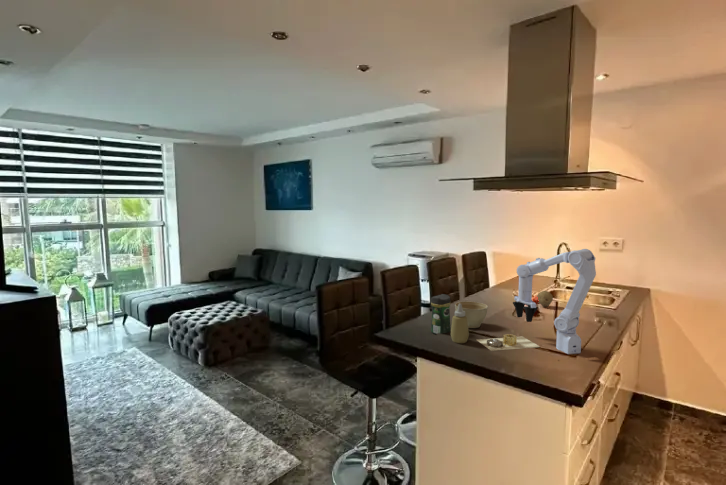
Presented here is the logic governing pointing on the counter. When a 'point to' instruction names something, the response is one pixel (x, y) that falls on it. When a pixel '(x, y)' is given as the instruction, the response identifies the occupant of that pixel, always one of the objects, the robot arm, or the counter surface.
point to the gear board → (520, 344)
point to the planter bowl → (473, 312)
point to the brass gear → (510, 339)
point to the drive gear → (495, 343)
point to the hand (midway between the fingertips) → (524, 319)
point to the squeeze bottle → (459, 326)
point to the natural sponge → (545, 298)
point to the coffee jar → (440, 314)
